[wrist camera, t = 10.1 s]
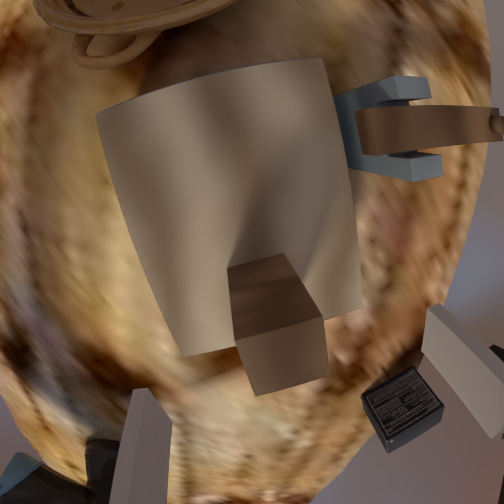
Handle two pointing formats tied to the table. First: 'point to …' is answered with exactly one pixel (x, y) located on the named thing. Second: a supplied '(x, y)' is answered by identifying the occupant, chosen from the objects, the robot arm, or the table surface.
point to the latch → (425, 127)
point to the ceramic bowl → (121, 22)
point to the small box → (402, 409)
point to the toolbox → (374, 96)
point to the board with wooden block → (242, 213)
